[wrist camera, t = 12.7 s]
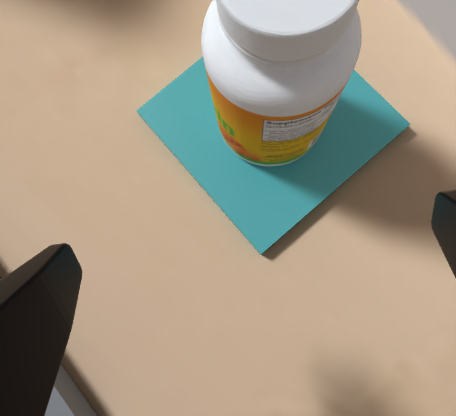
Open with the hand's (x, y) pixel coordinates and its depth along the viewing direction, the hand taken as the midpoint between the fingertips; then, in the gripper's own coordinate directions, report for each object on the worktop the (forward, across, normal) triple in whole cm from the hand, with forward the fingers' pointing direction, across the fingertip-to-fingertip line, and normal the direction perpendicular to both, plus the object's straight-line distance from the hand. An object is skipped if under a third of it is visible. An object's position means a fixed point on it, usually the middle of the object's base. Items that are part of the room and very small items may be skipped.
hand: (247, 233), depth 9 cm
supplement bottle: (+11, -2, +2) cm, 12 cm away
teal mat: (+12, -2, +2) cm, 12 cm away
